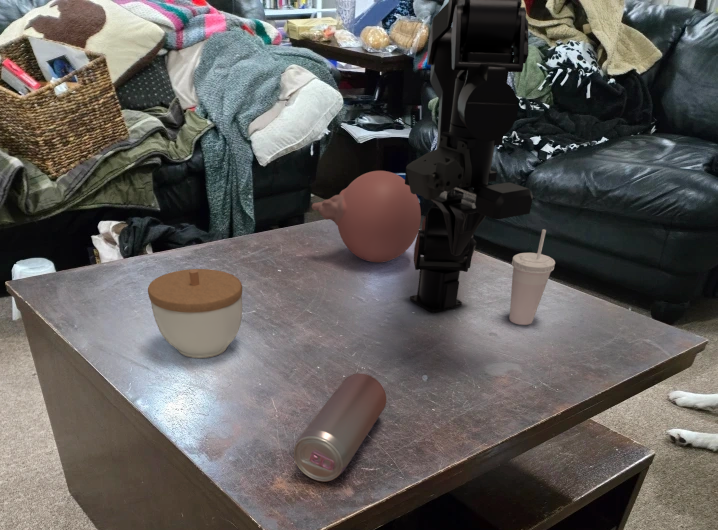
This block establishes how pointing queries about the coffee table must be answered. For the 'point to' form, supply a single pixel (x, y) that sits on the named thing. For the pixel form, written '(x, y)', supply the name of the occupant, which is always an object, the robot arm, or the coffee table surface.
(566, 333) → the coffee table surface
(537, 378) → the coffee table surface
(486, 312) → the coffee table surface
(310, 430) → the beverage can
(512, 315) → the smoothie
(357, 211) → the balloon
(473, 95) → the robot arm
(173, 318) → the lidded bowl
